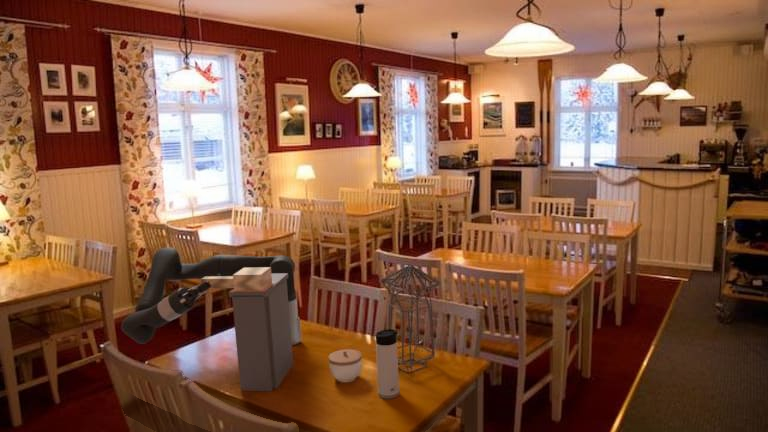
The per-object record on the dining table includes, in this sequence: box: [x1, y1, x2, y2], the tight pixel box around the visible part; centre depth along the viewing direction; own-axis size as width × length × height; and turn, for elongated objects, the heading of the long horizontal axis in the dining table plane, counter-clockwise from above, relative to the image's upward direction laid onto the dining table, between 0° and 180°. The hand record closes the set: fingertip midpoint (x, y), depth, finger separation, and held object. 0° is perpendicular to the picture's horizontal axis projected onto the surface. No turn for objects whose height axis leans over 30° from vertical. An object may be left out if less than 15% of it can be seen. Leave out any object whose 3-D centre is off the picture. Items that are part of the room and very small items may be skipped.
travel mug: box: [375, 328, 400, 400], centre depth 173 cm, size 6×7×20 cm
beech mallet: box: [200, 267, 272, 291], centre depth 182 cm, size 21×9×5 cm, turn 82°
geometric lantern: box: [378, 264, 441, 374], centre depth 191 cm, size 16×16×35 cm
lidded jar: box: [328, 349, 363, 383], centre depth 187 cm, size 11×11×9 cm
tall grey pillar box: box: [228, 273, 294, 392], centre depth 190 cm, size 12×22×32 cm, turn 172°
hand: (215, 279), depth 183 cm, fingers open, 8 cm apart
